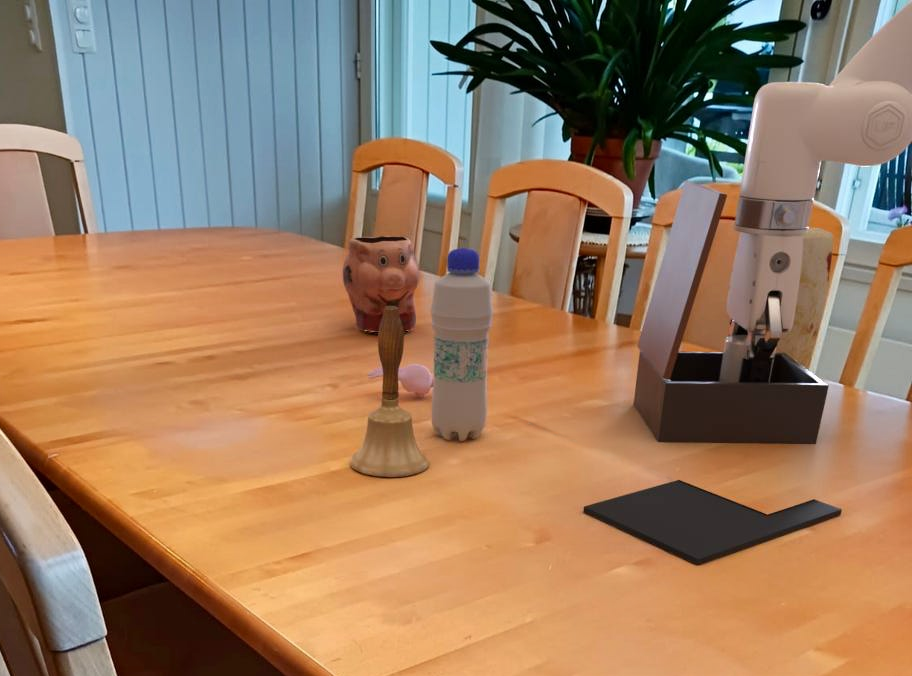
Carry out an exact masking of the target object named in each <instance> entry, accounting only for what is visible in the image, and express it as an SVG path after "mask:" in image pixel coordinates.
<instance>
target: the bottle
mask: <svg viewBox="0 0 912 676" xmlns="http://www.w3.org/2000/svg"><path fill="white" fill-rule="evenodd" d="M446 261H447V262H446V263H447V264H446V266H447V267H446V269H447V272H448V273H446V274H445V275H443V276H441V277H440V278H437V279H436V280H435V282H434V287H433V295H432V302H431V307H430V314H431V322H430V324H431V326H432V329H433V333H434V334H433V379H434V383H433V387H432V396H431V407H430V409H431V411H430V412H431V413H430V415H431V416H430V417H431V425H432V429H433V431H434V433H435V434H436V435H437V436H439V437H443V439H445V440H448V441H449V440H452V435H453V432H454V433H457V436H458V440H459V441H460V442H463V441H466V440H467V438H468V435H470V438H471V439H473V440H474V439H477V438H478V437H480V436H481V434H482V432H483V431H484V429H485V428H486V423H487V417H488V416H487V415H488V395H487V394H488V392H487V391H488V390H487V389H488V388H487V377H488V355H489V353H488V352H489V350H488V349H489V332H490V330H491V327H492V325H493V323H492V319H493V314H494V309H493V308H494V307H493V298H492V297H493V296H492V287H491V281H489V279H486V278H485V277H483V276H482V275H481V274H479V272H480V255H479V253H478V251H476V250H475V249H471V248H467V247H461V248H455V249H452V250H450V252H449V253H448V255H447V260H446Z"/></svg>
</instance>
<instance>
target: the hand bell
mask: <svg viewBox="0 0 912 676" xmlns="http://www.w3.org/2000/svg"><path fill="white" fill-rule="evenodd" d="M404 333H405V332H403V327H402V323H401V320H400V317H399V312H398V307H396V306H386V307H385V310H384V314H383V317H382V321H381V323H380V327H379V332H378V333H377V350H378V356H379V360H380V364H381V367H382V369H383V376H382V386H381V387H382V389H381V390H382V392H381V404H380V406H379V407H377V408H375V409H373V410H371V411H370V412H369V413H368V416H367V424H366V429H365V435H364V439H363V441H362V443H361V446H360V447H359V449H358V450H357V451H356V452H355V453H354V454H353V455H352V456H351V458H350V461H349V464H350V466H351V468H352V469H353V470H354V471H356V472H359V473H361V474H365V475H368V476H374V477H381V478H400V477H408V476H413V475H417V474H421V473H422V472H424V471H426V470H427V469H428V468H429V466H430V462H429V459H428V457H427V456H426V454H425V453H424V452H422V451H421V449H420V447H419V445H418V443H417V441H416V438H415V433H414V428H413V427H414V426H413V420H412V419H413V418H412V414H411V413H410V412H409V411H408V410H405V409H404V408H401V407H400V405H399V396H400V393H399V380H398V370H399V368H400V365H401V363H402V358H403V355H404V348H405V334H404Z"/></svg>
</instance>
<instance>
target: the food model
mask: <svg viewBox="0 0 912 676" xmlns="http://www.w3.org/2000/svg"><path fill="white" fill-rule="evenodd" d="M833 251H834V235H833V232H830V231H827V230H826V229H823V228H819V227H808V232H807V234H804V235H803V253H802V265H801V274H800V281H799V288H798V295H797V302H796V309H795V315H794V321H793V326H792V328H791V330H790V331H788V332H786V333H784V332H782V336H781V338H780V340H779V341H778V344H777V347H776V352H775V353H786V354H787V355H789V356H790V357H791V358H793V359H794V360H795V361H797V362H798V363H799V364H801V365H802V366H803V367H805V368H806V369H807V366H808V364H809V361H810V359H811V356H812V352H813V349H814V347H815V344H816V340H817V336H818V333H819V330H820V326H821V322H822V318H823V314H824V309H825V305H826V299H827V294H828V289H829V281H830V273H831V266H832V261H833ZM757 329H766V325H758V327H757ZM762 337H764V336H762Z"/></svg>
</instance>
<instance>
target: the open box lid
mask: <svg viewBox="0 0 912 676" xmlns="http://www.w3.org/2000/svg"><path fill="white" fill-rule="evenodd" d="M727 198H728V194H727V193H725V192H722V191H718V190H715V189H713V188H710V187H707V186H705V185H702V184H700V183H696V182H694V181H691V180H684V184H683V187H682V191H681V194H680V197H679V201H678V204H677V207H676V212H675V215H674V217H673V221H672V225H671V228H670V231H669V235H668V239H667V242H666V245H665V248H664V252H663V256H662V260H661V263H660V266H659V270H658V273H657V276H656V280H655V284H654V286H653V290H652V293H651V297H650V301H649V303H648V304H649V305H648V308H647V311H646V314H645V318H644V321H643V324H642V327H641V331H640V335H639V338H638V342H637V345H636V347H637V348H638V349H639V351H641V352H642V353H643V354H644V355H645V356H646V358H647V359H648V360H649V361H650V363H651V364H652V365H653V366H654V368H655V369H656V370H657V371H658V373H659V374H660V375H661V376H662V378H664V379H670V377H671V374H672V371H673V368H674V364H675V361H676V358H677V355H678V352H679V351H680V348H681V344H682V341H683V339H684V335H685V332H686V329H687V327H688V323H689V319H690V316H691V314H692V309H693V306H694V304H695V300H696V297H697V294H698V291H699V288H700V284H701V281H702V278H703V275H704V272H705V268H706V266H707V262H708V258H709V256H710V252H711V248H712V245H713V243H714V240H715V237H716V233H717V230H718V227H719V224H720V220H721V217H722V213H723V210H724V208H725V204H726V201H727Z"/></svg>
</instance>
